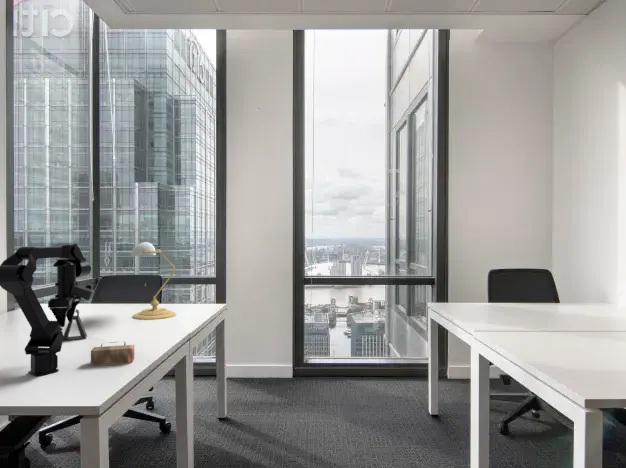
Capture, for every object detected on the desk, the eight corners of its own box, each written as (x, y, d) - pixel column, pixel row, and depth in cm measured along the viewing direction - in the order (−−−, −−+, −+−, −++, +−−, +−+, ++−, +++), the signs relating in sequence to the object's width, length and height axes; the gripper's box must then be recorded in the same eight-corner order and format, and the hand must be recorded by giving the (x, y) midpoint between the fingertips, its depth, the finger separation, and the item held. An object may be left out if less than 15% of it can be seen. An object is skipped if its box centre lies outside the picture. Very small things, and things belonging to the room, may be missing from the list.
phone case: (124, 356, 159) (125, 344, 174) (124, 351, 159) (125, 340, 174) (97, 358, 156) (101, 347, 171) (97, 354, 156) (101, 342, 171)
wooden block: (90, 350, 145) (132, 348, 148) (94, 347, 150) (134, 344, 153) (90, 365, 145) (132, 362, 148) (94, 361, 150) (134, 358, 153)
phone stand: (87, 336, 188) (87, 308, 188) (86, 339, 182) (86, 310, 182) (63, 338, 184) (63, 309, 184) (61, 341, 179) (61, 312, 179)
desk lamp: (132, 312, 245) (132, 241, 246) (174, 309, 253) (174, 241, 254) (129, 322, 216) (129, 242, 217) (177, 319, 225) (177, 242, 225)
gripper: (85, 281, 143) (85, 328, 143) (98, 276, 161) (98, 318, 161) (47, 282, 140) (47, 330, 140) (64, 276, 158) (64, 319, 158)
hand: (66, 324), depth 150 cm, fingers open, 9 cm apart
